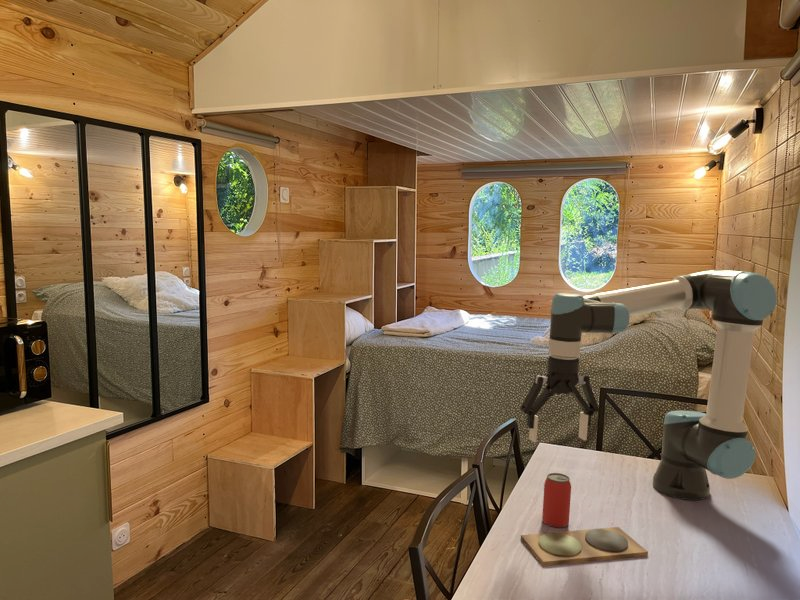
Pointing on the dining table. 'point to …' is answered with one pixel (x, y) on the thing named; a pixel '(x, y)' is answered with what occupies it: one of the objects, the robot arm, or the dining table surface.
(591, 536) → the seat board
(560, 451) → the dining table surface
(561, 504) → the beer can
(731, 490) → the dining table surface
